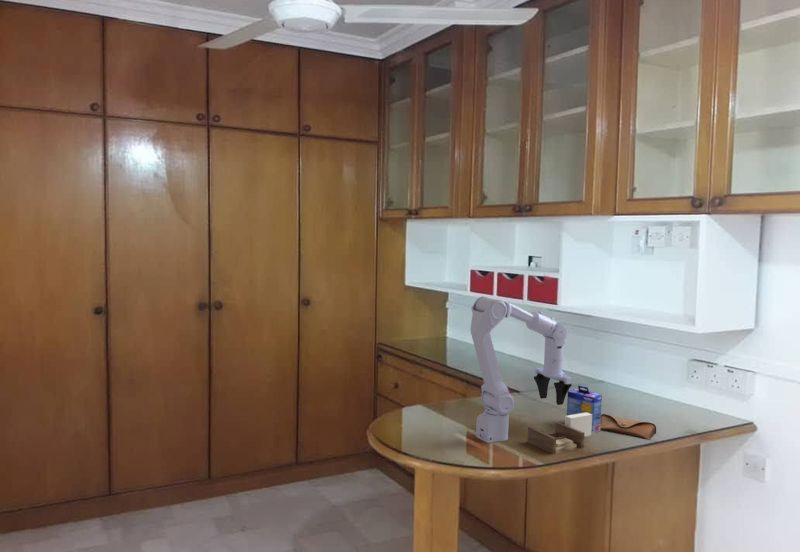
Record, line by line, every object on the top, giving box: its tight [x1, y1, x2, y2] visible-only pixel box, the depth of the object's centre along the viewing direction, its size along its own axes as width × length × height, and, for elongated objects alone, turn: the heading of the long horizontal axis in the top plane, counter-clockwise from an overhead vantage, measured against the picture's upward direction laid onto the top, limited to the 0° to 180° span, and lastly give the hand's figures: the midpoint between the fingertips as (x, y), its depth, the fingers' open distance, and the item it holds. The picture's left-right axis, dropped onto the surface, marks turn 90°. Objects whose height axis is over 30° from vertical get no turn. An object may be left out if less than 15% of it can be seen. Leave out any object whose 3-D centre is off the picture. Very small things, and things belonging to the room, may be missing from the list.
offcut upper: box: [556, 438, 573, 447], centre depth 187 cm, size 6×3×1 cm, turn 119°
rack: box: [526, 421, 585, 455], centre depth 189 cm, size 12×11×6 cm
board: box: [564, 412, 592, 438], centre depth 197 cm, size 9×2×7 cm, turn 119°
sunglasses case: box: [600, 413, 657, 441], centre depth 207 cm, size 18×7×7 cm, turn 59°
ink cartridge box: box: [566, 384, 603, 433], centre depth 207 cm, size 10×6×14 cm, turn 46°
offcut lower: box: [556, 443, 577, 452], centre depth 187 cm, size 8×4×1 cm, turn 119°
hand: (551, 401), depth 202 cm, fingers open, 7 cm apart
